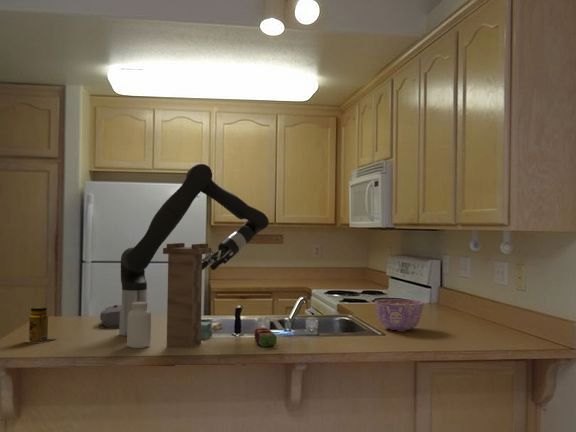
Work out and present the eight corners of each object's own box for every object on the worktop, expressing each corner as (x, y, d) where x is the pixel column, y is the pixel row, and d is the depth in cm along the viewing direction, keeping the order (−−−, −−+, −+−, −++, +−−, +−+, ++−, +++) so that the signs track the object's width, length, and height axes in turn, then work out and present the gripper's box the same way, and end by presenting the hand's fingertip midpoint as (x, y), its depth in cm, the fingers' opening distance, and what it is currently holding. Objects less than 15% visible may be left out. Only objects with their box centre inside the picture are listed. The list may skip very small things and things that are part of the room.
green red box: (251, 338, 206) (251, 325, 206) (268, 338, 207) (268, 324, 207) (260, 350, 185) (261, 335, 186) (279, 350, 187) (279, 335, 187)
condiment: (23, 342, 193) (24, 308, 193) (42, 337, 201) (42, 305, 201) (38, 343, 190) (39, 309, 191) (57, 339, 198) (58, 306, 198)
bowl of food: (392, 335, 214) (393, 306, 214) (365, 327, 232) (365, 299, 232) (433, 332, 222) (434, 303, 222) (404, 324, 240) (404, 297, 240)
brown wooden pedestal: (176, 339, 201) (178, 242, 202) (209, 340, 199) (211, 243, 200) (161, 346, 189) (163, 243, 190) (196, 348, 186) (198, 244, 187)
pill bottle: (128, 349, 184) (129, 304, 184) (125, 344, 191) (126, 301, 191) (152, 347, 187) (153, 303, 187) (148, 342, 194) (149, 300, 195)
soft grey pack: (136, 327, 224) (138, 319, 243) (136, 307, 224) (139, 301, 244) (97, 328, 221) (103, 320, 240) (98, 308, 221) (103, 301, 240)
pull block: (211, 327, 226) (211, 315, 226) (225, 328, 225) (225, 316, 225) (190, 337, 204) (191, 324, 205) (206, 338, 203) (206, 325, 203)
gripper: (217, 238, 225) (190, 261, 215) (238, 235, 215) (210, 259, 205) (226, 253, 227) (200, 277, 217) (247, 251, 217) (220, 275, 207)
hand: (205, 268), depth 211 cm, fingers open, 8 cm apart
